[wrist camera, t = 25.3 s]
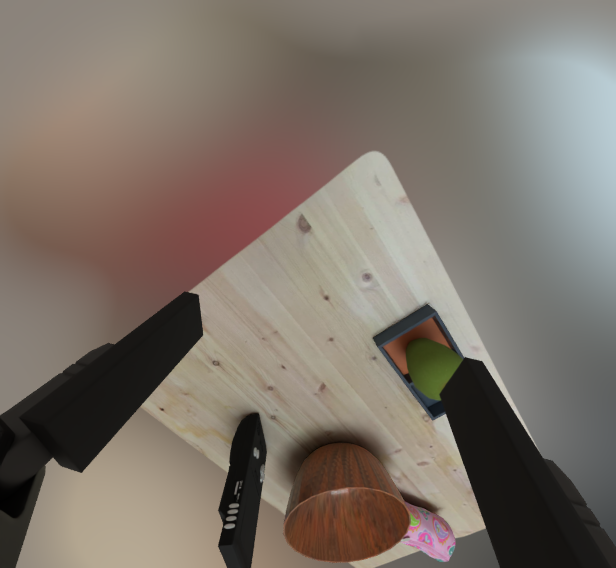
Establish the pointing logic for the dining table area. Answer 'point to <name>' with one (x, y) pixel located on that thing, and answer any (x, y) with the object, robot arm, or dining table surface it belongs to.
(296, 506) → the bowl
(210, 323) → the dining table surface
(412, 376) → the apple
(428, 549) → the pencil case
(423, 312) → the tray
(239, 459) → the black electronic device
